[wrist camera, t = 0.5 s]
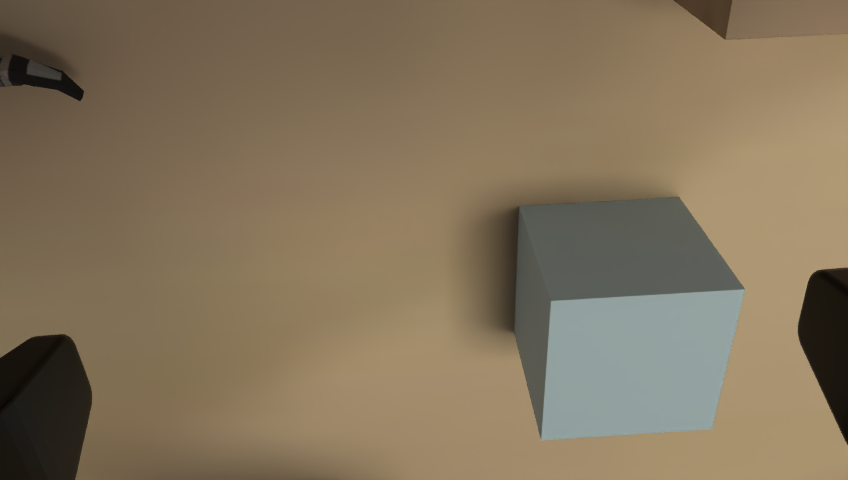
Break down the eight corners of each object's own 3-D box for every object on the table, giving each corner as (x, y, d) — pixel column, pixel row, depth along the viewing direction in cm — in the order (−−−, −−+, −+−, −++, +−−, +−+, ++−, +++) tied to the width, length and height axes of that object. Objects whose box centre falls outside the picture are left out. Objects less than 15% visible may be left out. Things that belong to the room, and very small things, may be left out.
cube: (657, 322, 26) (712, 429, 22) (513, 331, 26) (541, 440, 22) (678, 196, 24) (744, 289, 19) (518, 205, 23) (551, 301, 19)
